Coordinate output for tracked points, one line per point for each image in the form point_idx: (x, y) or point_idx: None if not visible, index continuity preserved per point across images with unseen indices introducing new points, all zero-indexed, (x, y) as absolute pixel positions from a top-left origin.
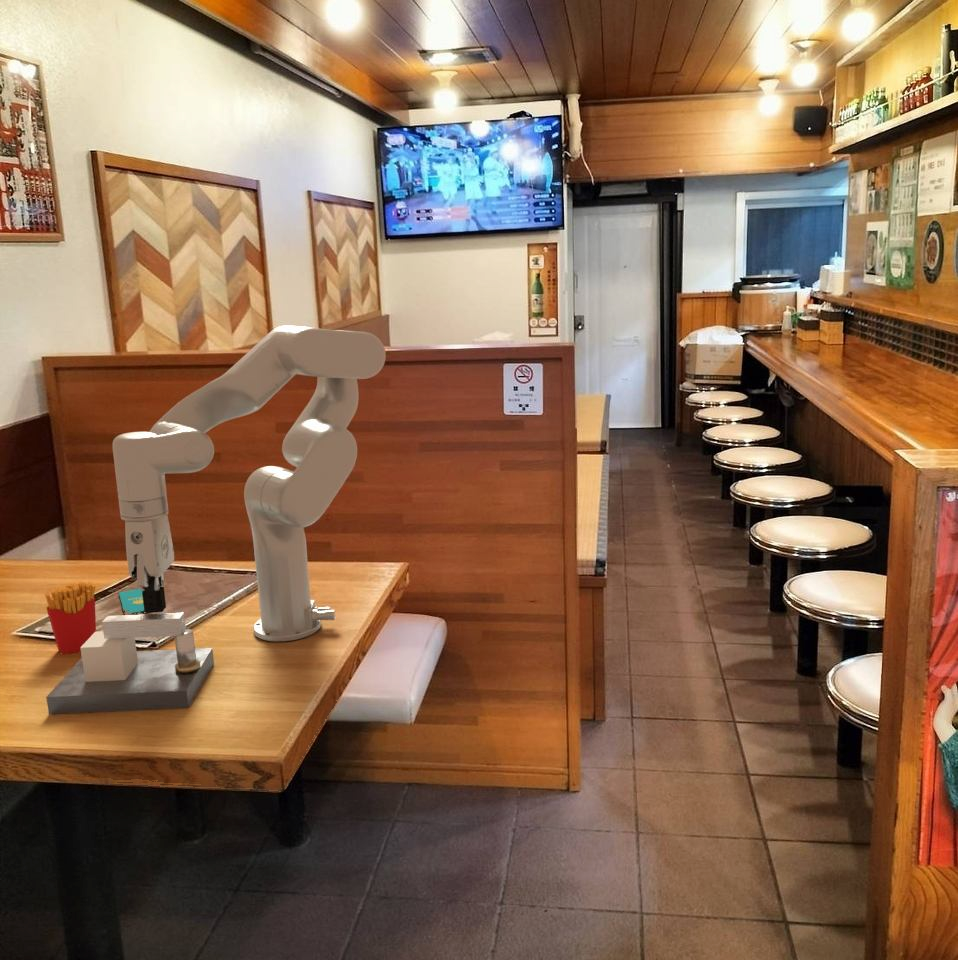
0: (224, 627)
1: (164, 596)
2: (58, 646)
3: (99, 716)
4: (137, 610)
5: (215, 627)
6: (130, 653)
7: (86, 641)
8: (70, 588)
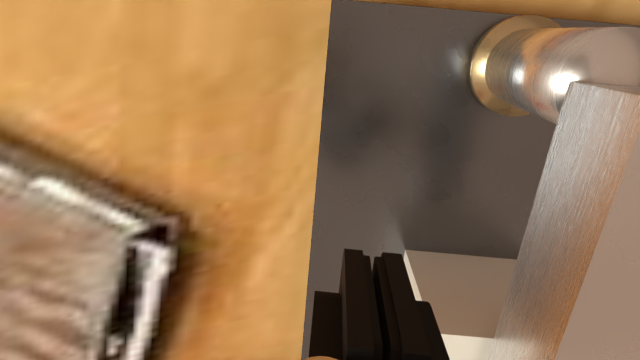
0: (5, 20)
1: (353, 293)
2: None
3: None
4: None
5: (8, 56)
6: (477, 289)
7: None
8: None
